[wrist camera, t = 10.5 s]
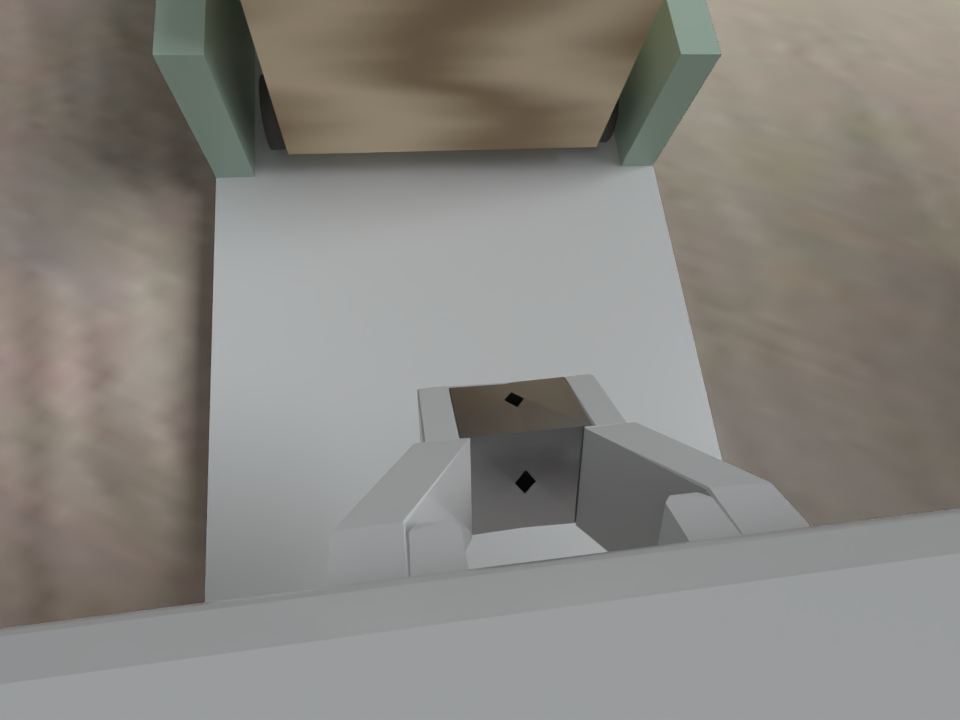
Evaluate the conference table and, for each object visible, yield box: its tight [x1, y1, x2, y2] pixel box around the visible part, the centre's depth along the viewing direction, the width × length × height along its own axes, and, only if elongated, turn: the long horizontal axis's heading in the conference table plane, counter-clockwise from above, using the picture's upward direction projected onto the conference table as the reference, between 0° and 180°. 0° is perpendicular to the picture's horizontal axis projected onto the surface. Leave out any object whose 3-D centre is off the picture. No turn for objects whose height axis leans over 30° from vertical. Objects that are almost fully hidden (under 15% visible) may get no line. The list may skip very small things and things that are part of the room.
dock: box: [152, 0, 722, 602], centre depth 18 cm, size 15×30×6 cm, turn 6°
